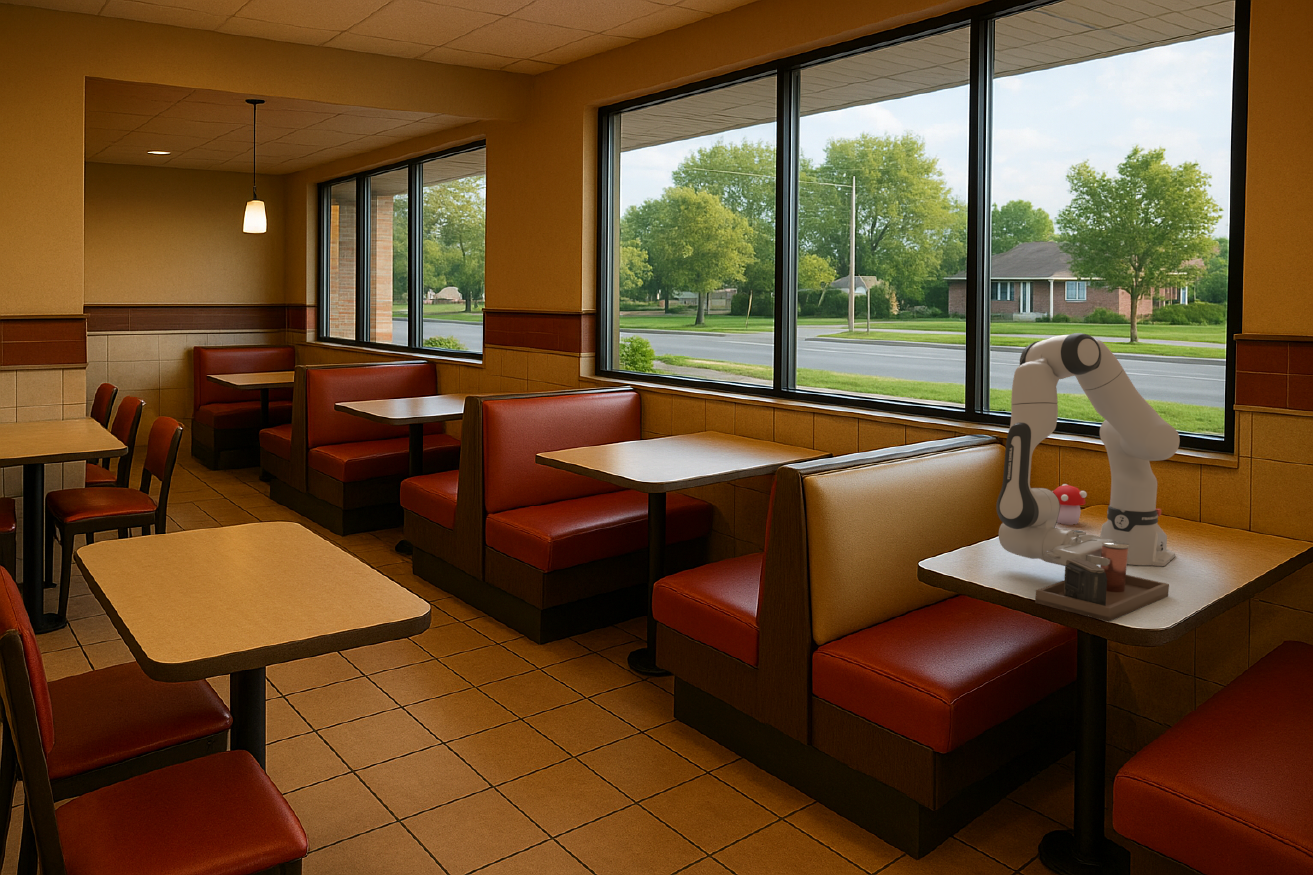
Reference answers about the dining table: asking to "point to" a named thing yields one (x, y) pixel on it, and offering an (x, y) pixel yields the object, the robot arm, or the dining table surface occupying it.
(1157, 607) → the dining table surface
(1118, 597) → the tray
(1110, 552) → the tin
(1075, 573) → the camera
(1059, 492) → the mushroom
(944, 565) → the dining table surface
